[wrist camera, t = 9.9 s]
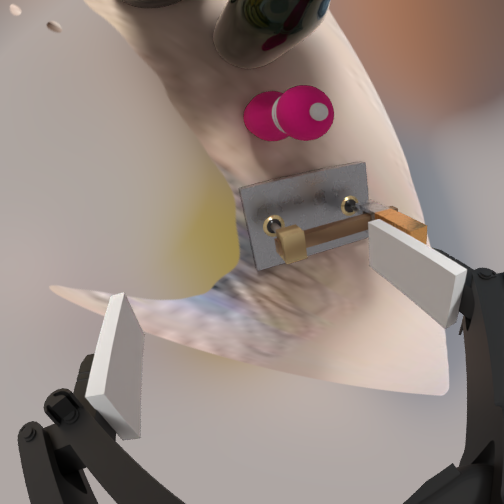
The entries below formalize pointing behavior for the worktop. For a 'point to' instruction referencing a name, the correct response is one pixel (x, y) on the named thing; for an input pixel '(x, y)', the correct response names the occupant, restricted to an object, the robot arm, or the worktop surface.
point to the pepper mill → (290, 114)
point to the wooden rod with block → (315, 235)
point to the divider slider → (392, 219)
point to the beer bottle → (265, 29)
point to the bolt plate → (302, 207)
